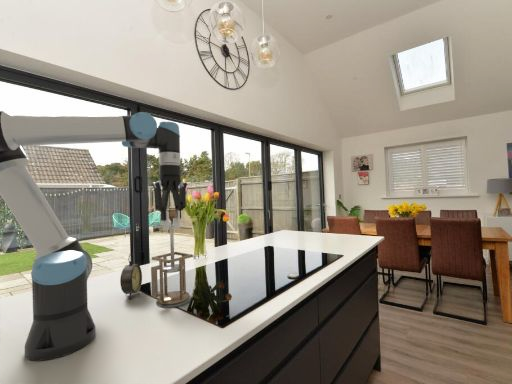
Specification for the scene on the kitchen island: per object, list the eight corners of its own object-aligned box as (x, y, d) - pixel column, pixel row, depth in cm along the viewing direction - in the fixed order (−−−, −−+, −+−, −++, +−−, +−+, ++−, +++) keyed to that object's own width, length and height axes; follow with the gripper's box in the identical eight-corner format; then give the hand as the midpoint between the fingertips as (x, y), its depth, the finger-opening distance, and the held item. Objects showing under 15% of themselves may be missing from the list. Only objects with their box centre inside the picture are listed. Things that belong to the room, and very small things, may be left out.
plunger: (170, 273, 91) (168, 210, 92) (157, 270, 96) (155, 210, 96) (187, 268, 97) (186, 209, 98) (175, 265, 102) (173, 208, 102)
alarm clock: (133, 300, 98) (131, 256, 98) (118, 301, 98) (116, 257, 98) (143, 290, 109) (142, 250, 109) (129, 290, 109) (128, 251, 109)
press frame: (164, 312, 87) (162, 262, 87) (144, 304, 94) (143, 258, 94) (197, 298, 98) (196, 254, 98) (177, 292, 105) (176, 251, 105)
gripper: (154, 162, 88) (156, 232, 88) (194, 165, 102) (196, 226, 101) (142, 164, 93) (144, 231, 92) (182, 167, 106) (184, 225, 106)
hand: (171, 228), depth 97 cm, fingers closed on plunger, 4 cm apart
